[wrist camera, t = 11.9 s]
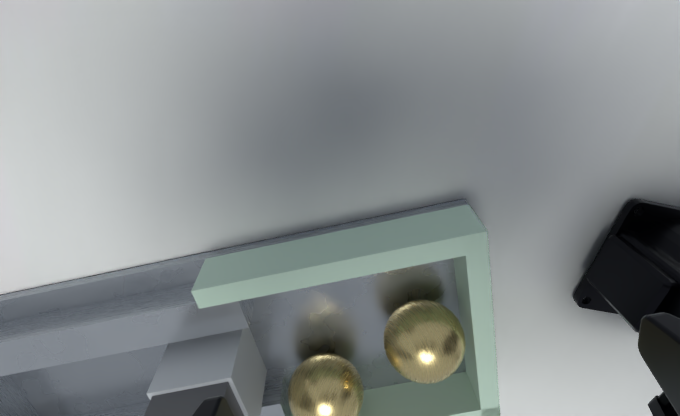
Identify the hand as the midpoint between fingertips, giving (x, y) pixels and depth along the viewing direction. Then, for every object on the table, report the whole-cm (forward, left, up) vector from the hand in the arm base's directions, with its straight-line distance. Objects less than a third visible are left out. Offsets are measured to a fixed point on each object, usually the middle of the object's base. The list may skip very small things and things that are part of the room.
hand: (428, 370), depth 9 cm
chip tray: (-2, +9, -12) cm, 15 cm away
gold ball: (-6, +7, -10) cm, 13 cm away
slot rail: (+5, +12, -12) cm, 17 cm away
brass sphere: (-2, +11, -8) cm, 14 cm away
